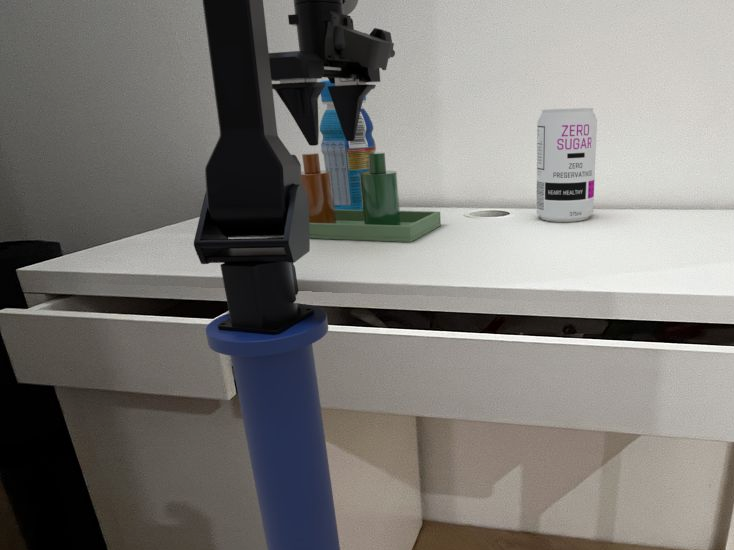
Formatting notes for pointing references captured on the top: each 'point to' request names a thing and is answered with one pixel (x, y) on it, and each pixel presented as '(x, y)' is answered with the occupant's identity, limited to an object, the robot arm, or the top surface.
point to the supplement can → (566, 164)
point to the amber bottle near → (318, 190)
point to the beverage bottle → (345, 153)
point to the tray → (376, 227)
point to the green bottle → (379, 193)
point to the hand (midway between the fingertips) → (333, 143)
